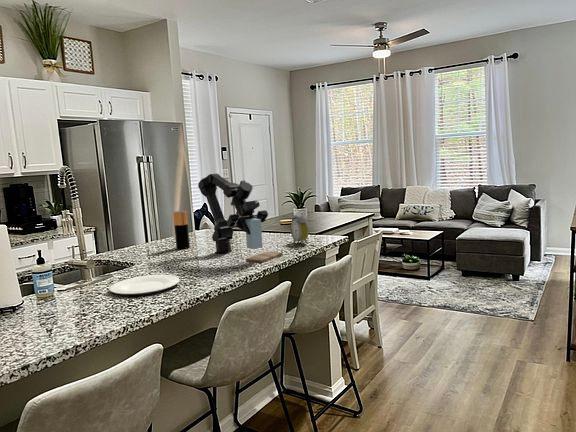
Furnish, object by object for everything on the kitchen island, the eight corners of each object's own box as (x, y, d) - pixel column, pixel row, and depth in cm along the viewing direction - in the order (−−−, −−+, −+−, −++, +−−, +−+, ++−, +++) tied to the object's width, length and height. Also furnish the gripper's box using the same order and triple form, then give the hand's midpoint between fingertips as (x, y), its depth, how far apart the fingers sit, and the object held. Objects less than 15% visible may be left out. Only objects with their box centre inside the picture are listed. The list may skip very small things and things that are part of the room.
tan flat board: (262, 262, 197) (262, 260, 197) (246, 261, 202) (245, 258, 202) (282, 255, 210) (282, 252, 210) (266, 253, 215) (266, 251, 215)
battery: (192, 248, 242) (188, 210, 239) (179, 250, 238) (175, 212, 235) (186, 246, 248) (183, 209, 245) (174, 248, 244) (171, 211, 241)
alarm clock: (290, 242, 241) (289, 214, 240) (302, 240, 244) (300, 213, 242) (300, 245, 231) (299, 216, 229) (312, 244, 234) (311, 215, 232)
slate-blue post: (246, 247, 201) (245, 219, 199) (256, 245, 204) (254, 218, 202) (252, 249, 197) (250, 220, 195) (262, 247, 200) (260, 219, 198)
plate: (125, 280, 181) (124, 276, 181) (187, 277, 180) (187, 273, 180) (97, 300, 156) (96, 294, 156) (169, 296, 155) (168, 291, 155)
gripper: (227, 196, 195) (241, 224, 188) (265, 192, 206) (279, 218, 198) (221, 213, 203) (234, 240, 195) (257, 208, 213) (271, 234, 206)
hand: (255, 233), depth 198 cm, fingers closed on slate-blue post, 5 cm apart
